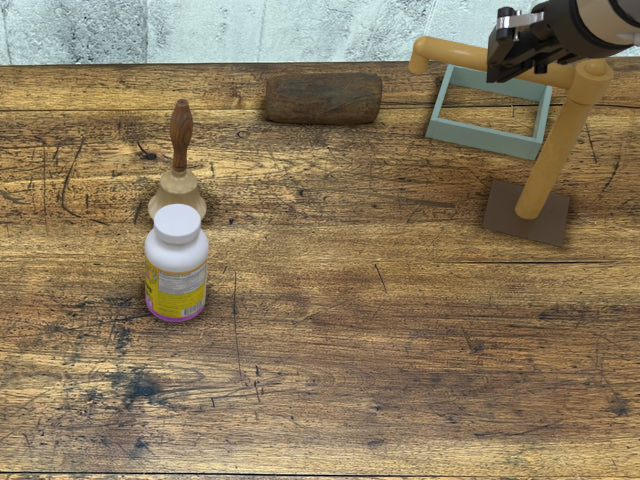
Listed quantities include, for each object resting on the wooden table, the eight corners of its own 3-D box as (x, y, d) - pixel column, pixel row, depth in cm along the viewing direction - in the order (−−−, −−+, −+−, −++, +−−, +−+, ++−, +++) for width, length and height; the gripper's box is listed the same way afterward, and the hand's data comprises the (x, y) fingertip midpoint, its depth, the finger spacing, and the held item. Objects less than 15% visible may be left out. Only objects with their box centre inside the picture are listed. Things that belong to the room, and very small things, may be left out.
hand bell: (218, 198, 102) (227, 84, 89) (201, 243, 97) (208, 130, 84) (154, 186, 103) (154, 73, 90) (134, 230, 99) (131, 117, 86)
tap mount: (566, 204, 99) (631, 81, 86) (558, 253, 95) (626, 132, 81) (489, 186, 102) (541, 64, 88) (478, 234, 97) (531, 112, 83)
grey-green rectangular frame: (543, 105, 111) (553, 82, 108) (531, 166, 104) (542, 143, 101) (441, 85, 114) (449, 61, 111) (422, 142, 107) (430, 119, 104)
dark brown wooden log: (368, 102, 112) (379, 57, 107) (377, 134, 108) (389, 89, 103) (259, 104, 113) (264, 60, 107) (264, 136, 109) (269, 92, 103)
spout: (598, 98, 86) (621, 53, 82) (594, 118, 84) (617, 72, 80) (411, 57, 91) (423, 13, 87) (403, 75, 89) (415, 30, 85)
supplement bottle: (151, 279, 94) (151, 192, 83) (208, 287, 93) (215, 200, 83) (140, 323, 90) (138, 237, 80) (199, 331, 89) (205, 246, 79)
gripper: (528, 47, 62) (427, 106, 85) (709, 48, 61) (558, 107, 85) (536, -59, 61) (432, 30, 84) (721, -59, 60) (565, 31, 84)
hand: (496, 69), depth 84 cm, fingers closed
